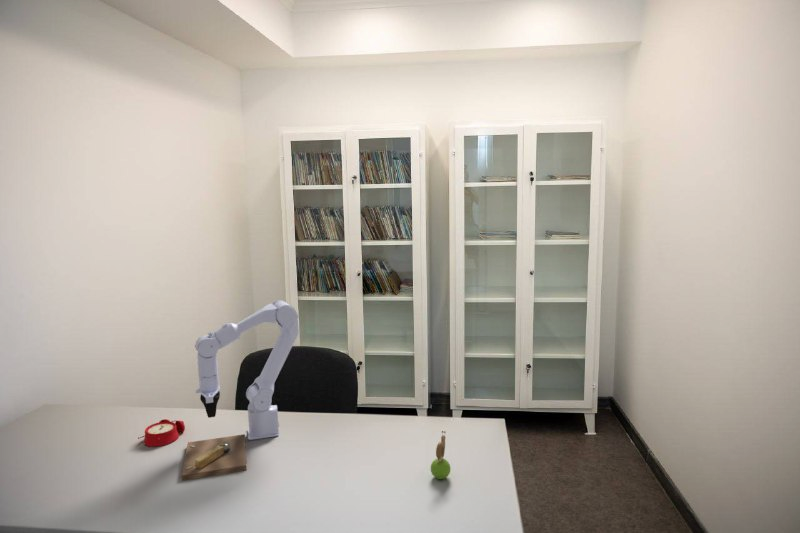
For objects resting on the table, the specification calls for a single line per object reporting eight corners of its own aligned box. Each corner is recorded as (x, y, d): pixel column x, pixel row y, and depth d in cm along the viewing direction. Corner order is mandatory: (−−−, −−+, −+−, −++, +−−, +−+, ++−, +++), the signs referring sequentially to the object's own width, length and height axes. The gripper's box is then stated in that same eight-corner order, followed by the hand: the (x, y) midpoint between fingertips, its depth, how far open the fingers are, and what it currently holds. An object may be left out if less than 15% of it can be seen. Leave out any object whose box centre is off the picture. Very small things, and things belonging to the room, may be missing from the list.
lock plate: (245, 438, 170) (244, 433, 170) (246, 469, 151) (246, 464, 151) (188, 446, 165) (187, 441, 165) (182, 480, 146) (181, 474, 146)
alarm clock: (132, 436, 165) (162, 407, 178) (137, 452, 167) (166, 422, 181) (161, 439, 162) (190, 409, 176) (166, 456, 165) (193, 425, 178)
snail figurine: (453, 472, 148) (453, 431, 146) (447, 484, 142) (447, 442, 140) (434, 469, 150) (434, 429, 148) (428, 481, 144) (428, 439, 142)
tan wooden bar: (224, 447, 160) (223, 440, 160) (232, 449, 159) (231, 442, 159) (193, 466, 150) (193, 459, 149) (202, 469, 148) (201, 461, 148)
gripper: (195, 368, 169) (198, 409, 171) (193, 384, 155) (197, 428, 157) (219, 365, 171) (222, 405, 173) (218, 381, 157) (222, 424, 159)
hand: (211, 416), depth 165 cm, fingers closed
